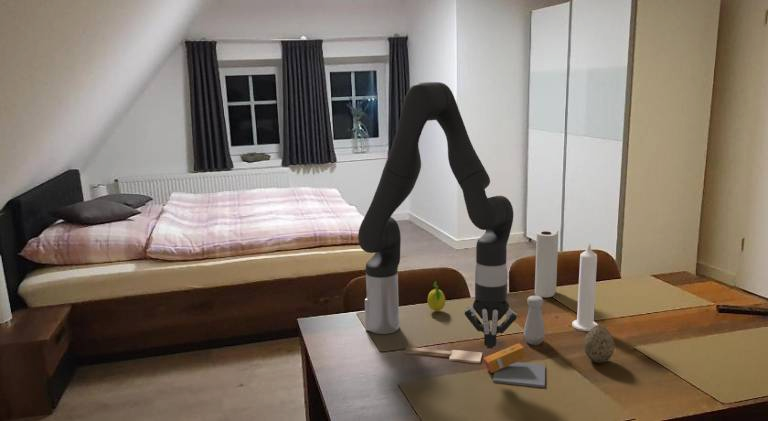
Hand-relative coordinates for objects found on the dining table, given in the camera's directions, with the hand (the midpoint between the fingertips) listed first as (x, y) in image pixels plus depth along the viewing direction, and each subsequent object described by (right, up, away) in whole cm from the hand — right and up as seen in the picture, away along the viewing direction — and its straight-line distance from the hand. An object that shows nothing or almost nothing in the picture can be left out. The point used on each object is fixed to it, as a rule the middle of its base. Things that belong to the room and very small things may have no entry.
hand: (490, 347), depth 141 cm
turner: (-10, -5, +12) cm, 17 cm away
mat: (+7, -7, +1) cm, 10 cm away
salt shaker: (+15, -3, +18) cm, 24 cm away
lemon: (-10, +2, +40) cm, 41 cm away
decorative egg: (+29, -5, +6) cm, 30 cm away
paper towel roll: (+28, +5, +51) cm, 58 cm away
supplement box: (0, -5, +2) cm, 6 cm away
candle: (+32, 0, +26) cm, 42 cm away
